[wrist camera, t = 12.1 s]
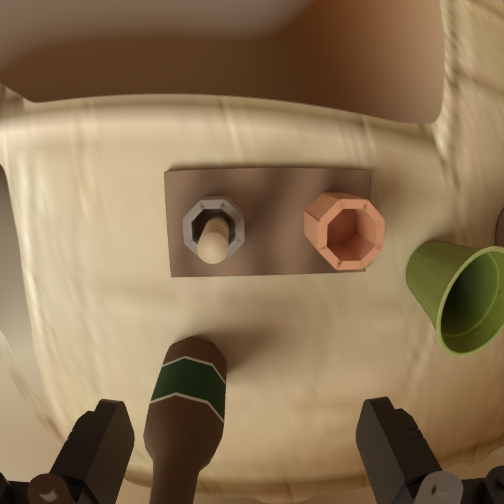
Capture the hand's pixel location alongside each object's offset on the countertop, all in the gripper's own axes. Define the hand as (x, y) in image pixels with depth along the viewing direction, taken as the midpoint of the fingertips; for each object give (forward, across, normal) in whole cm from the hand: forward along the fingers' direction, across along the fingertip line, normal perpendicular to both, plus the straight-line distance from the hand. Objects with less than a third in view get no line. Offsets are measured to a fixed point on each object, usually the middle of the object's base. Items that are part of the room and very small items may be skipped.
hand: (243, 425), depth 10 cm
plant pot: (+26, -23, +4) cm, 35 cm away
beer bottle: (+26, +6, +15) cm, 30 cm away
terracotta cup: (+25, -9, -2) cm, 26 cm away
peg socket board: (+26, -3, -2) cm, 26 cm away
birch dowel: (+24, +3, -2) cm, 25 cm away
